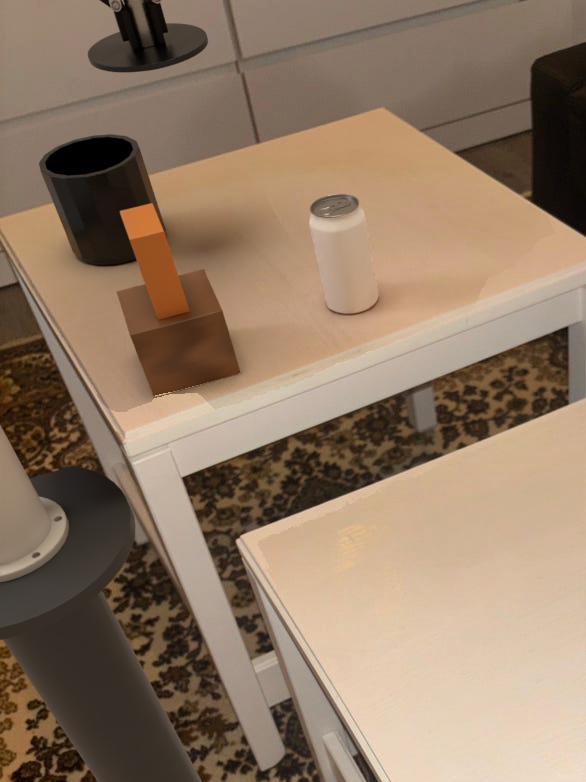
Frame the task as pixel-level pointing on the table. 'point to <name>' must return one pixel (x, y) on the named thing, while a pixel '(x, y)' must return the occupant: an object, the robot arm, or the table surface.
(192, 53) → the tin lid
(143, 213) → the block
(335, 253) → the can
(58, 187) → the trash tin
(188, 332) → the riser
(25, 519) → the robot arm
